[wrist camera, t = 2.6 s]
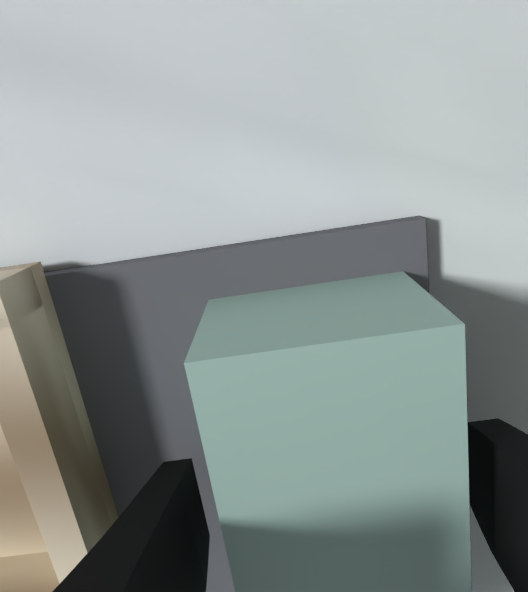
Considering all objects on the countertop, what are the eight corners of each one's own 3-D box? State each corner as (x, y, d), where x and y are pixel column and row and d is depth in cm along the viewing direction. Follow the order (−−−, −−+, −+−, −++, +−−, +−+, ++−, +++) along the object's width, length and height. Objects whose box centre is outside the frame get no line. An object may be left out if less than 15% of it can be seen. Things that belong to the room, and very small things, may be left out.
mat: (438, 587, 12) (444, 601, 12) (-259, 665, 13) (-274, 681, 13) (418, 215, 9) (425, 218, 9) (-476, 351, 10) (-504, 358, 10)
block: (422, 573, 12) (474, 712, 9) (266, 592, 12) (267, 733, 9) (403, 271, 9) (465, 323, 6) (208, 299, 9) (184, 362, 7)
